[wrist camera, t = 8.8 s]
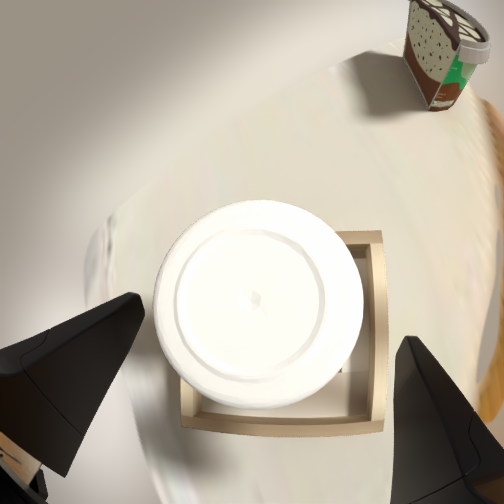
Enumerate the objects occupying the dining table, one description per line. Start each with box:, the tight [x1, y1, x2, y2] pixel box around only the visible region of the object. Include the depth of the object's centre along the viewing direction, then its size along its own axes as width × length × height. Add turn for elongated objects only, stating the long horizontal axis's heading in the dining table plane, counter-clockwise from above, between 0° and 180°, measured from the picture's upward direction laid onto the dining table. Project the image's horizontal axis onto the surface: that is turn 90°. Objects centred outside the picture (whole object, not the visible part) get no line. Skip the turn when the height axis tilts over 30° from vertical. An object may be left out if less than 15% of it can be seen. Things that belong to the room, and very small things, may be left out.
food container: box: [403, 0, 491, 111], centre depth 16 cm, size 12×6×10 cm, turn 177°
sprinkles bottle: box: [153, 200, 363, 410], centre depth 12 cm, size 5×5×14 cm
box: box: [181, 230, 389, 437], centre depth 16 cm, size 12×12×3 cm
